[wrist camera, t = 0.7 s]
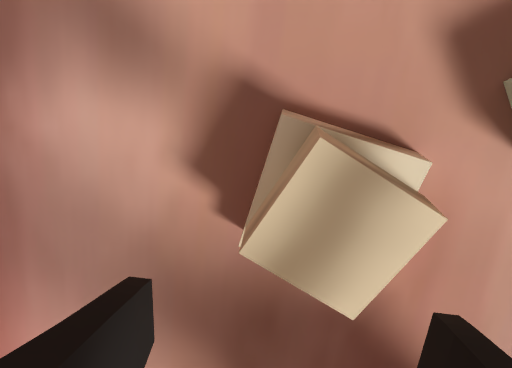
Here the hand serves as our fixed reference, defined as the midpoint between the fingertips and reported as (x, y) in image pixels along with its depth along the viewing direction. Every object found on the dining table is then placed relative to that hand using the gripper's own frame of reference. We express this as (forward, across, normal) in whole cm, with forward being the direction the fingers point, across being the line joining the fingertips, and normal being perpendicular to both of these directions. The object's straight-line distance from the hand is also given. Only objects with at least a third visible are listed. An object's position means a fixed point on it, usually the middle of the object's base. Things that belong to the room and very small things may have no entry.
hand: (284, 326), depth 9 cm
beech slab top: (+8, -2, 0) cm, 8 cm away
